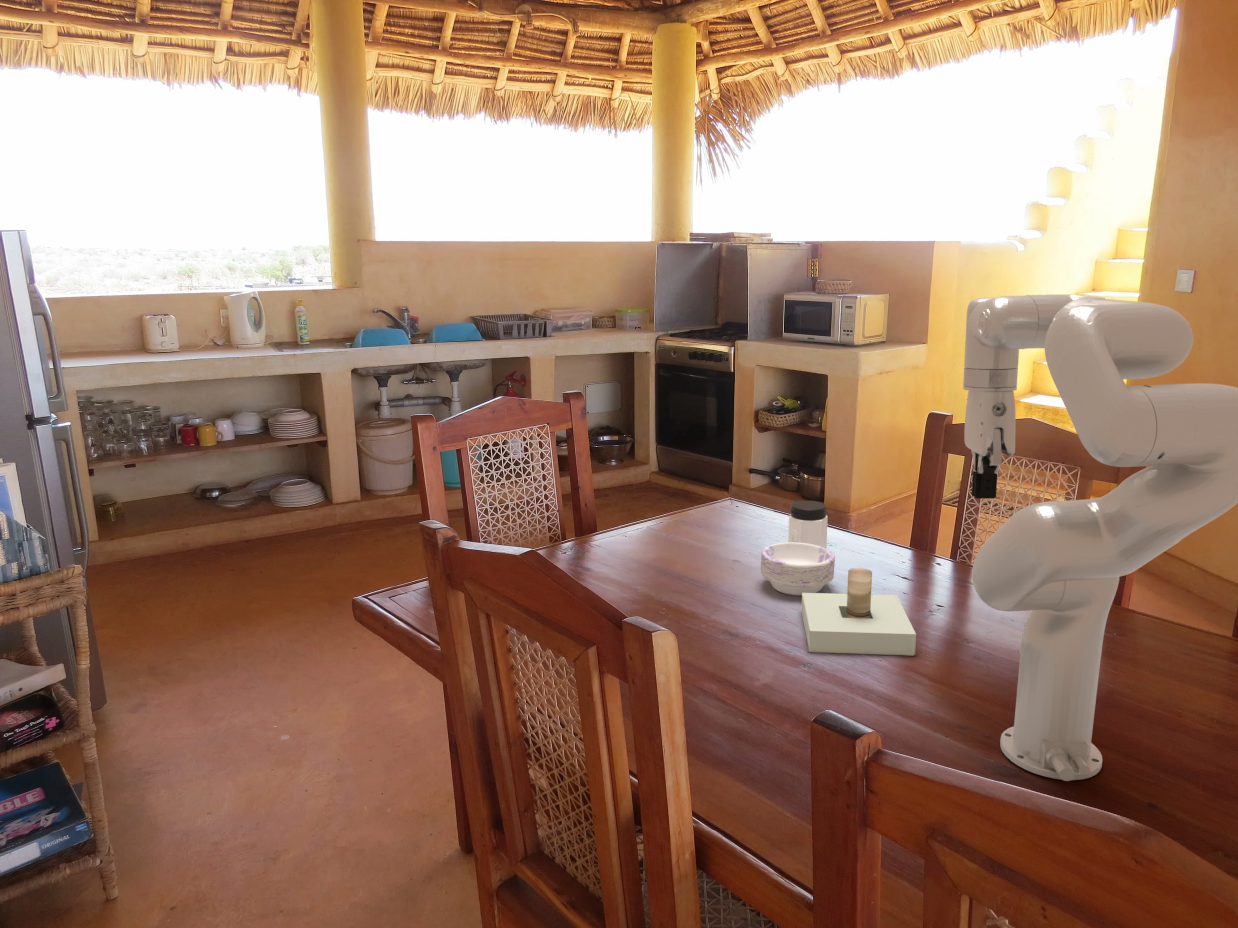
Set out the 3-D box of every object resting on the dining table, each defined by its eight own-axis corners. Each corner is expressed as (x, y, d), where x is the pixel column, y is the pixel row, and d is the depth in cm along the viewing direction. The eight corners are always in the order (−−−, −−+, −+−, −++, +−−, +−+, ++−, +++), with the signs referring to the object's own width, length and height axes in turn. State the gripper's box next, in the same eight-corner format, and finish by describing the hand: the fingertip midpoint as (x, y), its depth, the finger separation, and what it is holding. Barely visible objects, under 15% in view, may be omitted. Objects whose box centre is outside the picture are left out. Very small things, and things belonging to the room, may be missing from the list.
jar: (781, 551, 203) (782, 503, 201) (808, 545, 207) (809, 498, 204) (806, 562, 196) (807, 512, 193) (833, 556, 199) (835, 506, 197)
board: (914, 655, 148) (916, 634, 147) (809, 651, 151) (810, 630, 150) (895, 614, 166) (896, 595, 165) (801, 611, 168) (802, 592, 167)
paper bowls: (848, 594, 176) (850, 557, 175) (785, 606, 171) (786, 569, 169) (806, 571, 190) (807, 537, 188) (747, 581, 185) (747, 546, 183)
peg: (871, 638, 155) (874, 576, 153) (846, 637, 156) (849, 575, 153) (867, 628, 160) (870, 568, 157) (844, 627, 160) (846, 567, 158)
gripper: (1034, 384, 122) (1026, 508, 125) (999, 375, 136) (992, 487, 140) (980, 385, 123) (973, 508, 126) (950, 376, 137) (945, 487, 141)
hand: (983, 497), depth 133 cm, fingers closed
